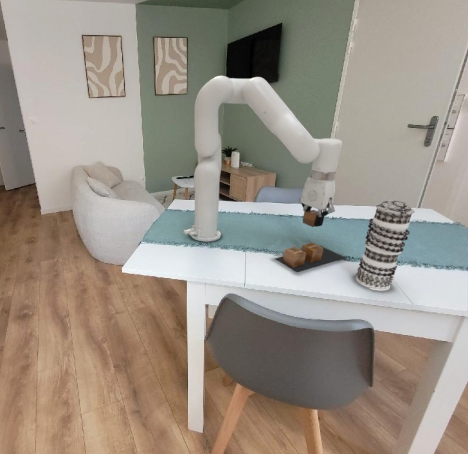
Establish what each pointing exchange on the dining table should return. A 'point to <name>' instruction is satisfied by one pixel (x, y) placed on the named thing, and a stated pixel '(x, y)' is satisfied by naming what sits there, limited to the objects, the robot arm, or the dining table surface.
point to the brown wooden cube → (294, 257)
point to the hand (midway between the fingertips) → (312, 222)
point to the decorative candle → (384, 244)
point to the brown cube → (312, 252)
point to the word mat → (326, 258)
